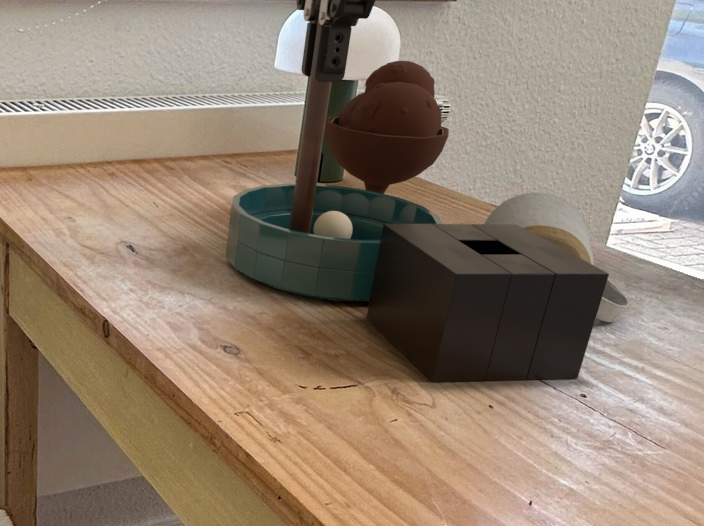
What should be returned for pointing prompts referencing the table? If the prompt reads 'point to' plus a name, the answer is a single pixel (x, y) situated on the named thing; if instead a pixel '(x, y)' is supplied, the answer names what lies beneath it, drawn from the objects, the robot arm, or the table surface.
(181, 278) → the table surface
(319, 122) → the stick
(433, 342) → the holder
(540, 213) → the ceramic mug
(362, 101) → the ice cream bowl
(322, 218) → the dough ball
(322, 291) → the bowl
